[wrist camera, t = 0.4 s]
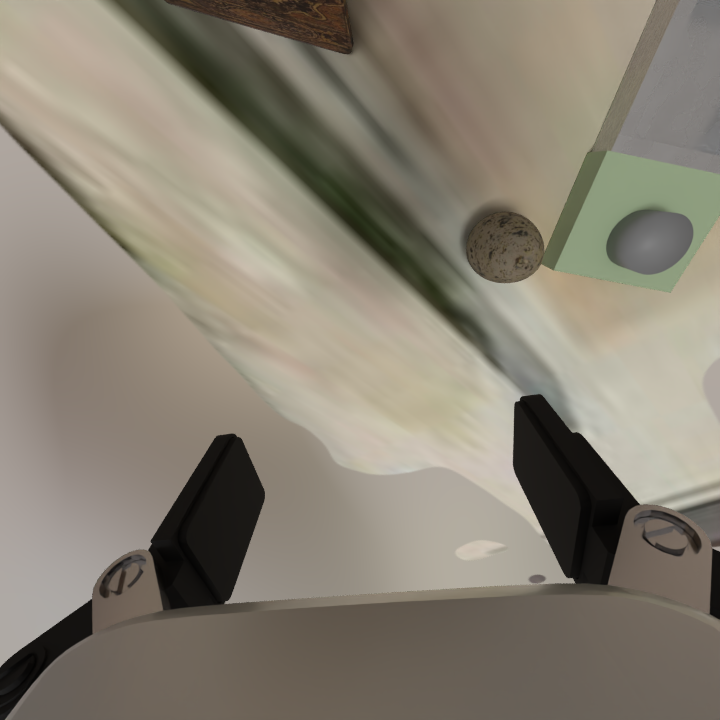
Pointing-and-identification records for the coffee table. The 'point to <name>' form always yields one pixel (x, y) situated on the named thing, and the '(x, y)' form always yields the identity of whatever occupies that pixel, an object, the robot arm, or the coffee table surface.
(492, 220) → the decorative egg
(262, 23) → the book
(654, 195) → the deck
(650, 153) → the tray
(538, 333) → the coffee table surface
